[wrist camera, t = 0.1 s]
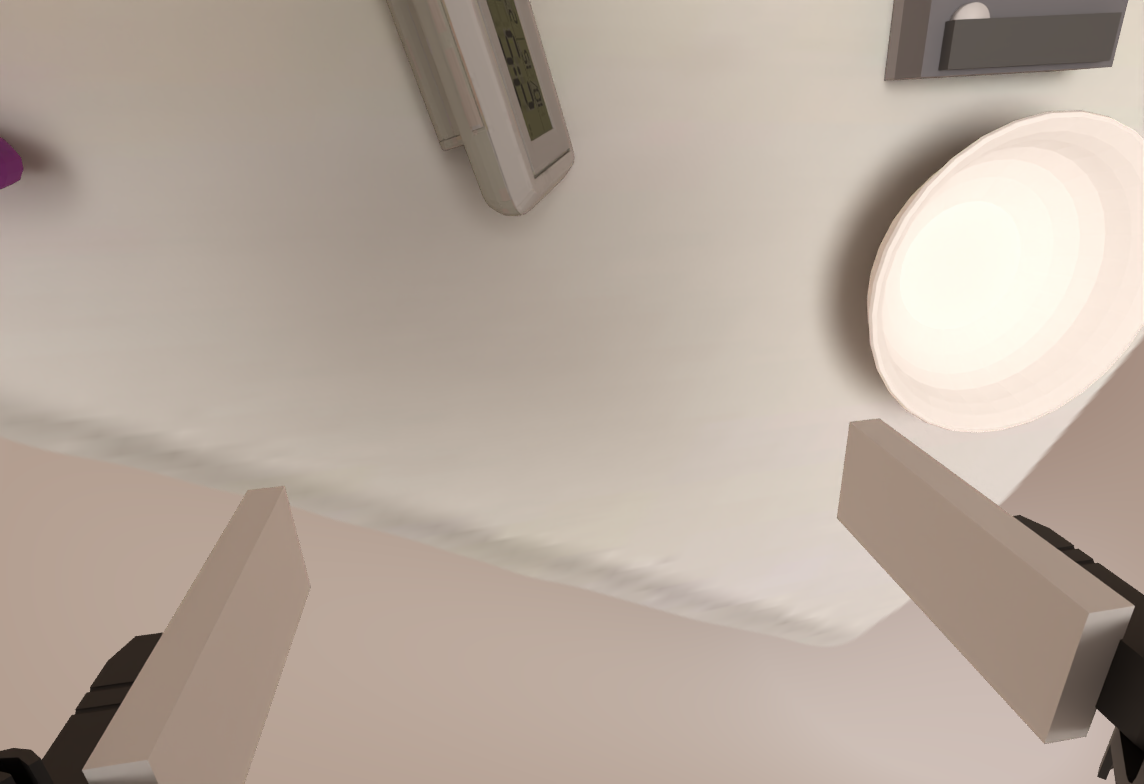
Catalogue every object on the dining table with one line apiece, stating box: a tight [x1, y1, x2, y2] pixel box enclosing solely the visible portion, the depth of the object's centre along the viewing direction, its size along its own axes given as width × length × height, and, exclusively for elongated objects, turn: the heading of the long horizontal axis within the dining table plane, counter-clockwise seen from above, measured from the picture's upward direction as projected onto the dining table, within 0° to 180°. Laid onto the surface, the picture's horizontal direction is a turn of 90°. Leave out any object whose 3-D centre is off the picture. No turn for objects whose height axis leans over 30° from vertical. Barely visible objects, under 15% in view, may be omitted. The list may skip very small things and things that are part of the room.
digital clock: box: [386, 0, 574, 216], centre depth 31 cm, size 16×9×11 cm, turn 6°
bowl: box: [867, 110, 1144, 433], centre depth 42 cm, size 20×20×6 cm
